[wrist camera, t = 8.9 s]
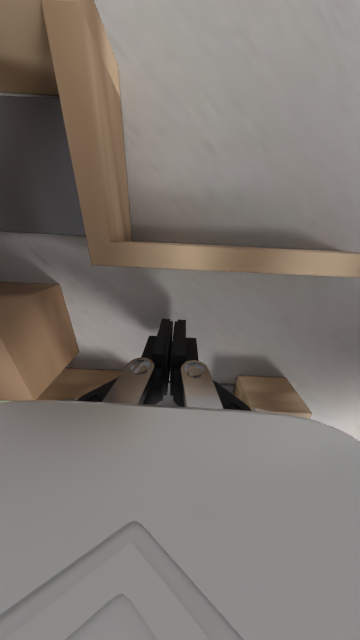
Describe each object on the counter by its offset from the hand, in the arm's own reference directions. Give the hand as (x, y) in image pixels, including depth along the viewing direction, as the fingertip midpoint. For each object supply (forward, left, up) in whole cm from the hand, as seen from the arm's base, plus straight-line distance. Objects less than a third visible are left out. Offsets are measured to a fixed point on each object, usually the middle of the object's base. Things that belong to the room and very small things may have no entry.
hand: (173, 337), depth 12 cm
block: (+11, 0, -2) cm, 11 cm away
